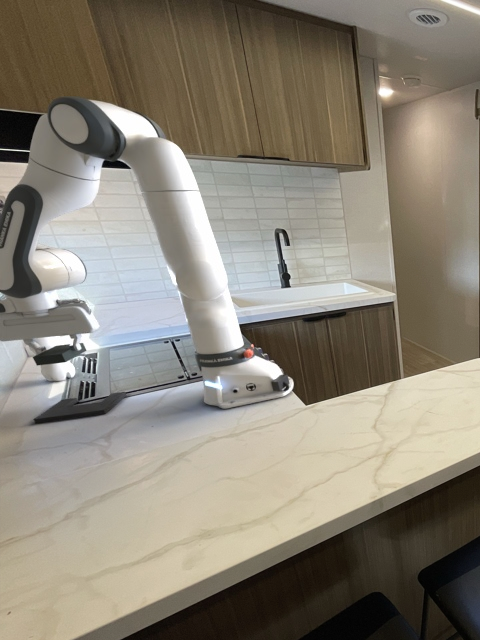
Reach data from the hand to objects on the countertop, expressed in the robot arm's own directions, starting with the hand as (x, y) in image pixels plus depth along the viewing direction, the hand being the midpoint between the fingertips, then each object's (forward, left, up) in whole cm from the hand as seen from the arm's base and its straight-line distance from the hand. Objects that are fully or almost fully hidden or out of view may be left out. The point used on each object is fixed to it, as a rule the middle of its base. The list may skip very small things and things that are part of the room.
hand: (59, 352), depth 109 cm
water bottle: (+13, -19, -14) cm, 27 cm away
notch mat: (-5, +10, -14) cm, 18 cm away
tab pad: (0, 0, -2) cm, 2 cm away
